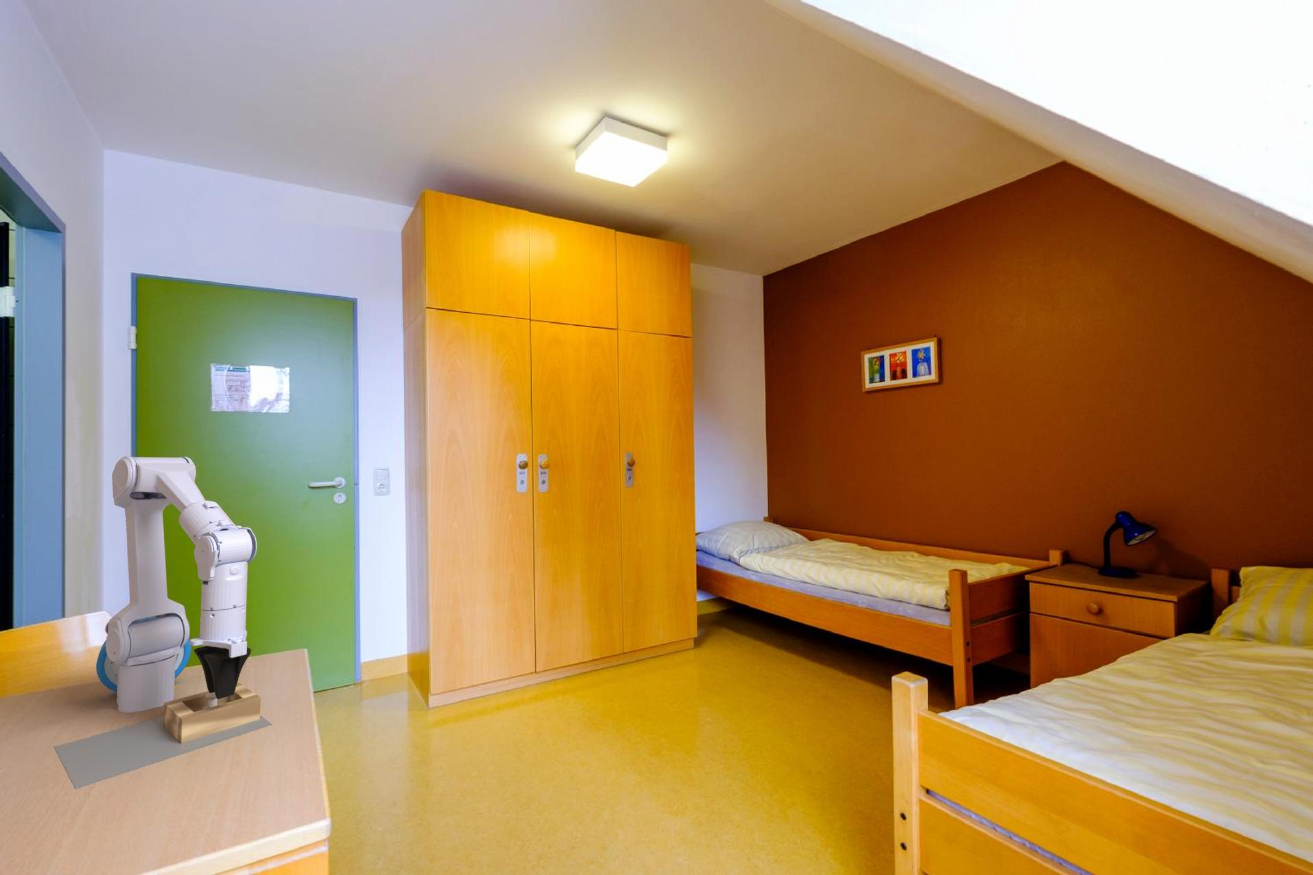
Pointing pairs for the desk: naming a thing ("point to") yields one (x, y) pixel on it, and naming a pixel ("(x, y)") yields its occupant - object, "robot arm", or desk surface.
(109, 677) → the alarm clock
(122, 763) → the slate board
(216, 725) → the oak frame
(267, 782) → the desk surface
